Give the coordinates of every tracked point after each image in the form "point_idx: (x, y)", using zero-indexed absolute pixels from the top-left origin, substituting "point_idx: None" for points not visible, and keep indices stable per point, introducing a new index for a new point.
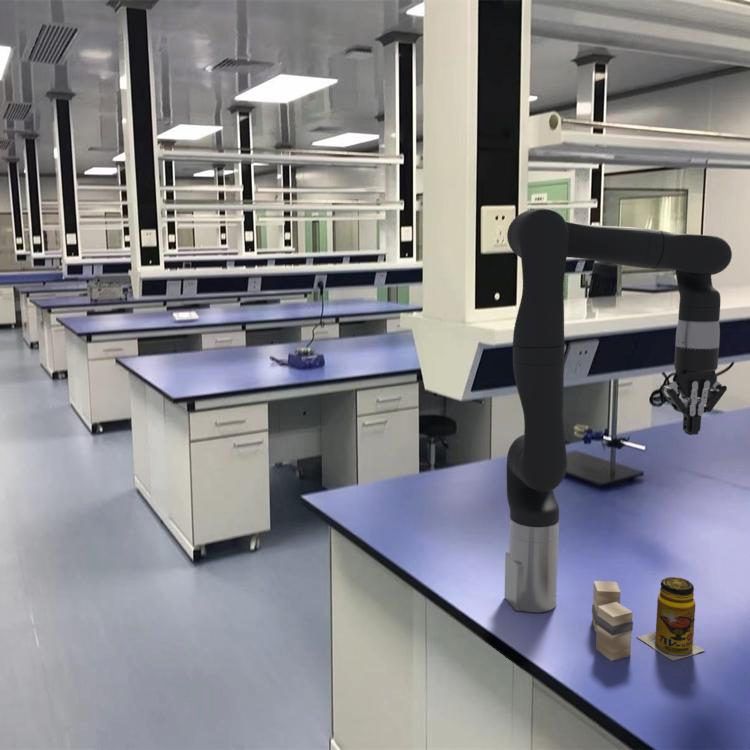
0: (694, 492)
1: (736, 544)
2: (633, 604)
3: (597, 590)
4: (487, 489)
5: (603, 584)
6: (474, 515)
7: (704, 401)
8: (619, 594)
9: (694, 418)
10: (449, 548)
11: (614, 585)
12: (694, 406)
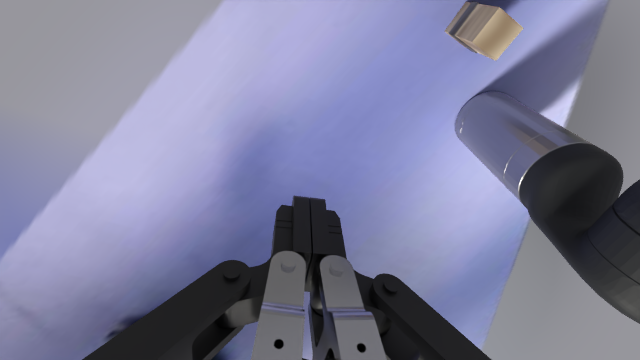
0: (70, 283)
1: (109, 150)
2: (382, 62)
3: (521, 29)
4: None
5: (495, 43)
6: None
7: (278, 316)
8: (498, 7)
9: (319, 246)
10: (452, 249)
11: (485, 32)
12: (332, 300)
